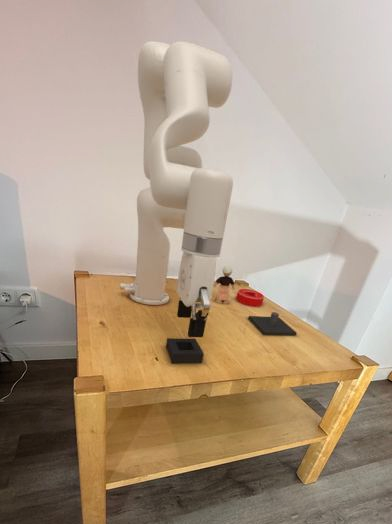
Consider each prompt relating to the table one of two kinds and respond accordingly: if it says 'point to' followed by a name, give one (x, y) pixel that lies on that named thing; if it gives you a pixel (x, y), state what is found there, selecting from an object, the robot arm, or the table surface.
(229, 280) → the grandmother figurine
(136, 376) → the table surface
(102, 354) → the table surface
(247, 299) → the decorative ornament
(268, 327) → the base pad
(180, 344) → the top pad
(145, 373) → the table surface
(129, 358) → the table surface
